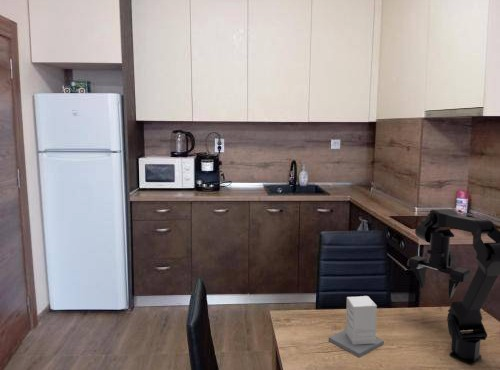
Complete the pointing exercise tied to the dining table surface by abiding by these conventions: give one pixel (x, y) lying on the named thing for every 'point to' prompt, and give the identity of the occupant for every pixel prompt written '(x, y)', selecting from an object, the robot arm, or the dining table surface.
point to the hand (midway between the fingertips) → (436, 293)
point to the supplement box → (361, 320)
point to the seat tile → (358, 350)
